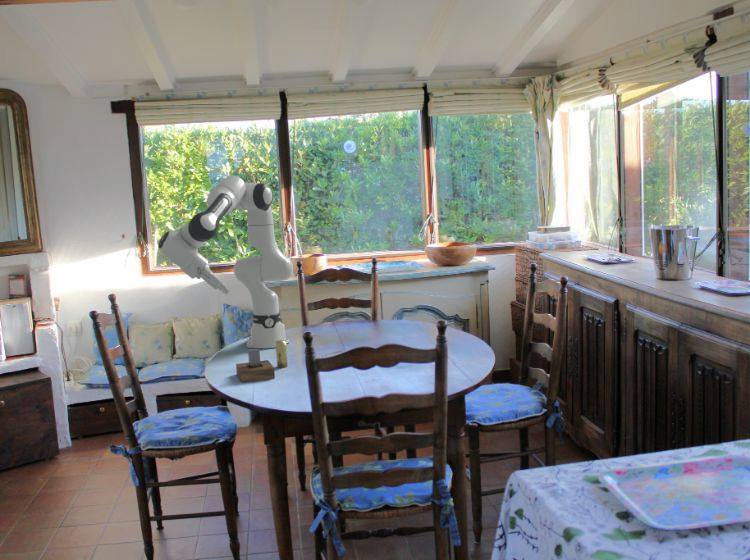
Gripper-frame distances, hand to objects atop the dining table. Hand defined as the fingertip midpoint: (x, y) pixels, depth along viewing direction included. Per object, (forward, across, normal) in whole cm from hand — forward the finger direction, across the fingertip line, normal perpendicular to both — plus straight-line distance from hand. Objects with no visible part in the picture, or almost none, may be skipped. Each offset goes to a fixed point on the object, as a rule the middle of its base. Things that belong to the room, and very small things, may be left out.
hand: (225, 290), depth 268 cm
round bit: (+36, -1, +8) cm, 37 cm away
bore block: (+27, -10, +17) cm, 34 cm away
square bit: (+27, -10, +17) cm, 34 cm away
